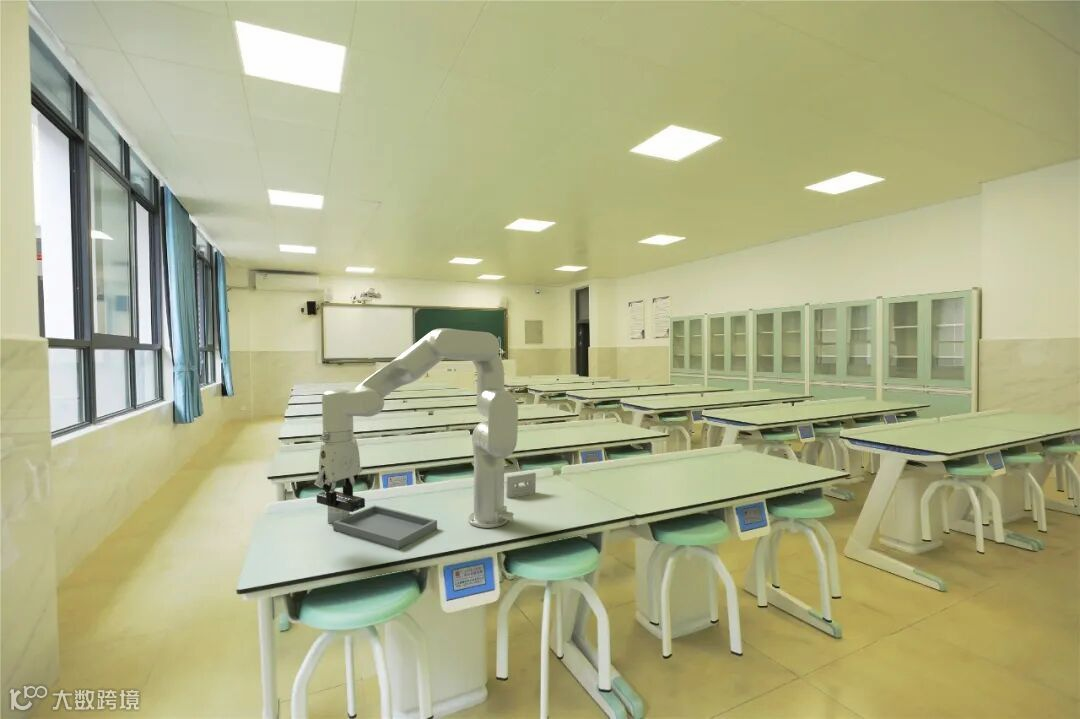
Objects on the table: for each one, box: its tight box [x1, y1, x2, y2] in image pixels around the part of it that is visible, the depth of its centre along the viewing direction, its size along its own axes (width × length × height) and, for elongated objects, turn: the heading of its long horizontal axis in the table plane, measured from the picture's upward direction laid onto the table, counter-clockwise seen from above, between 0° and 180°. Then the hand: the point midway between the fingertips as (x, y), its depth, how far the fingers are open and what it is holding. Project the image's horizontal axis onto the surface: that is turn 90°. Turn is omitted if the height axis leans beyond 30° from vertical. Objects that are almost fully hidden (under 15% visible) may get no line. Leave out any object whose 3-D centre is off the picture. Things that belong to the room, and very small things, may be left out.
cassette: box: [505, 472, 537, 499], centre depth 173 cm, size 12×2×8 cm, turn 121°
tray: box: [332, 504, 438, 551], centre depth 140 cm, size 26×16×2 cm, turn 63°
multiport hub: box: [316, 491, 366, 513], centre depth 126 cm, size 4×14×2 cm, turn 61°
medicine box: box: [327, 487, 351, 524], centre depth 148 cm, size 8×4×9 cm, turn 5°
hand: (340, 502), depth 126 cm, fingers closed on multiport hub, 4 cm apart
